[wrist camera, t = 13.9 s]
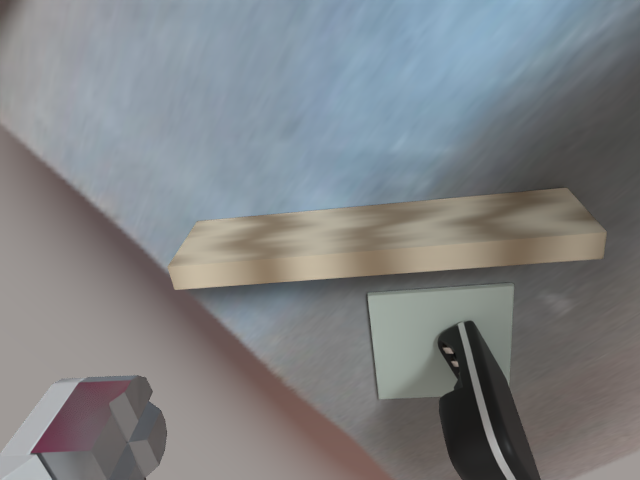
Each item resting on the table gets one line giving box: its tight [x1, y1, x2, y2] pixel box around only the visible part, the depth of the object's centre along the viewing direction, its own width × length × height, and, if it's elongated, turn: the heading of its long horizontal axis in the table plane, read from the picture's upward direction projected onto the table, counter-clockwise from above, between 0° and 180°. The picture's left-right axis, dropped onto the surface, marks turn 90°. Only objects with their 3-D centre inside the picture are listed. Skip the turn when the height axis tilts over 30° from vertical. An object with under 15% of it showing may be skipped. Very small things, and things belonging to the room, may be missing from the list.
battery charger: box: [437, 321, 541, 480], centre depth 33 cm, size 7×4×11 cm, turn 31°
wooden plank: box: [168, 188, 607, 290], centre depth 31 cm, size 24×2×6 cm, turn 98°
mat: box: [368, 283, 514, 399], centre depth 38 cm, size 10×10×1 cm
